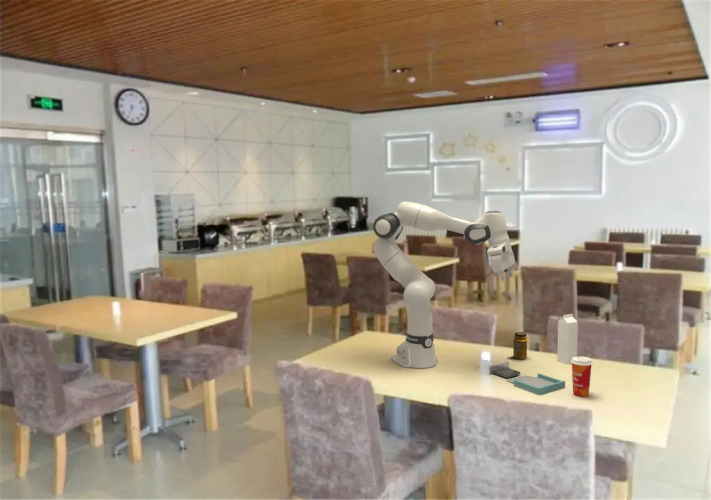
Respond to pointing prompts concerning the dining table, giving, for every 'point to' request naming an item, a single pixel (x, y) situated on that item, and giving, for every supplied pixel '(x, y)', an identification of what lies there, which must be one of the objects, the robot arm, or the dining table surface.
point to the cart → (503, 370)
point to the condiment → (519, 347)
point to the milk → (567, 339)
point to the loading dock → (537, 383)
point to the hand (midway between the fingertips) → (507, 278)
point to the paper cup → (581, 375)
